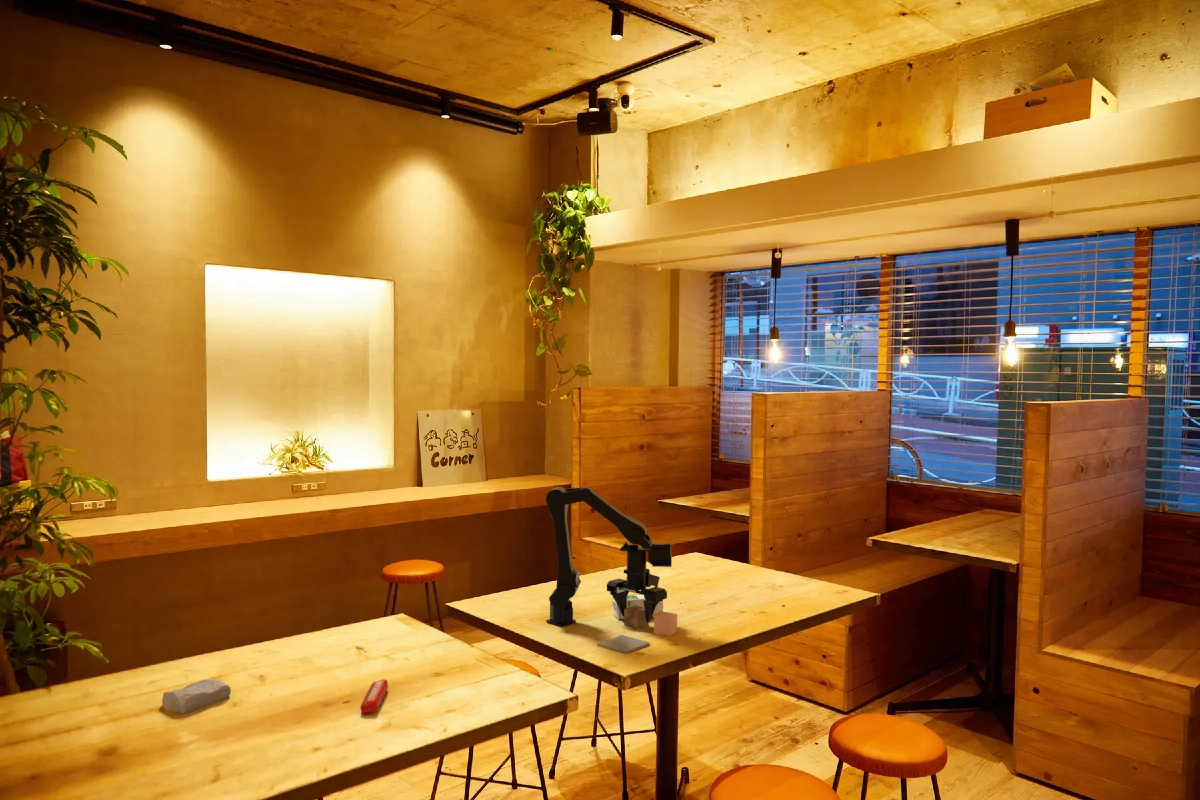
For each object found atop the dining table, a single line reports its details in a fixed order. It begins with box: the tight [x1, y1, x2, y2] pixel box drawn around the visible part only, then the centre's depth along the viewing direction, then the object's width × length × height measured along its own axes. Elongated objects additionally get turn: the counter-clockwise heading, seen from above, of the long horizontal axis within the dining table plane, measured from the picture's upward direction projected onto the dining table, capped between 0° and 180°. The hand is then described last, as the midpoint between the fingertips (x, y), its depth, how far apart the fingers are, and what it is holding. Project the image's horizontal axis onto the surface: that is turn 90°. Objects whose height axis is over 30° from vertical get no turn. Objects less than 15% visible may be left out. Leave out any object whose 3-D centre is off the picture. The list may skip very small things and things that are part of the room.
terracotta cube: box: [653, 611, 678, 636], centre depth 231 cm, size 5×5×5 cm
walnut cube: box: [623, 605, 650, 630], centre depth 237 cm, size 5×5×5 cm
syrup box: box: [611, 594, 664, 620], centre depth 247 cm, size 6×6×14 cm
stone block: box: [161, 678, 232, 715], centre depth 181 cm, size 12×5×10 cm
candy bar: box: [360, 678, 389, 715], centre depth 181 cm, size 16×4×3 cm, turn 5°
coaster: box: [596, 634, 650, 655], centre depth 220 cm, size 10×10×1 cm
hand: (636, 619), depth 237 cm, fingers open, 9 cm apart
